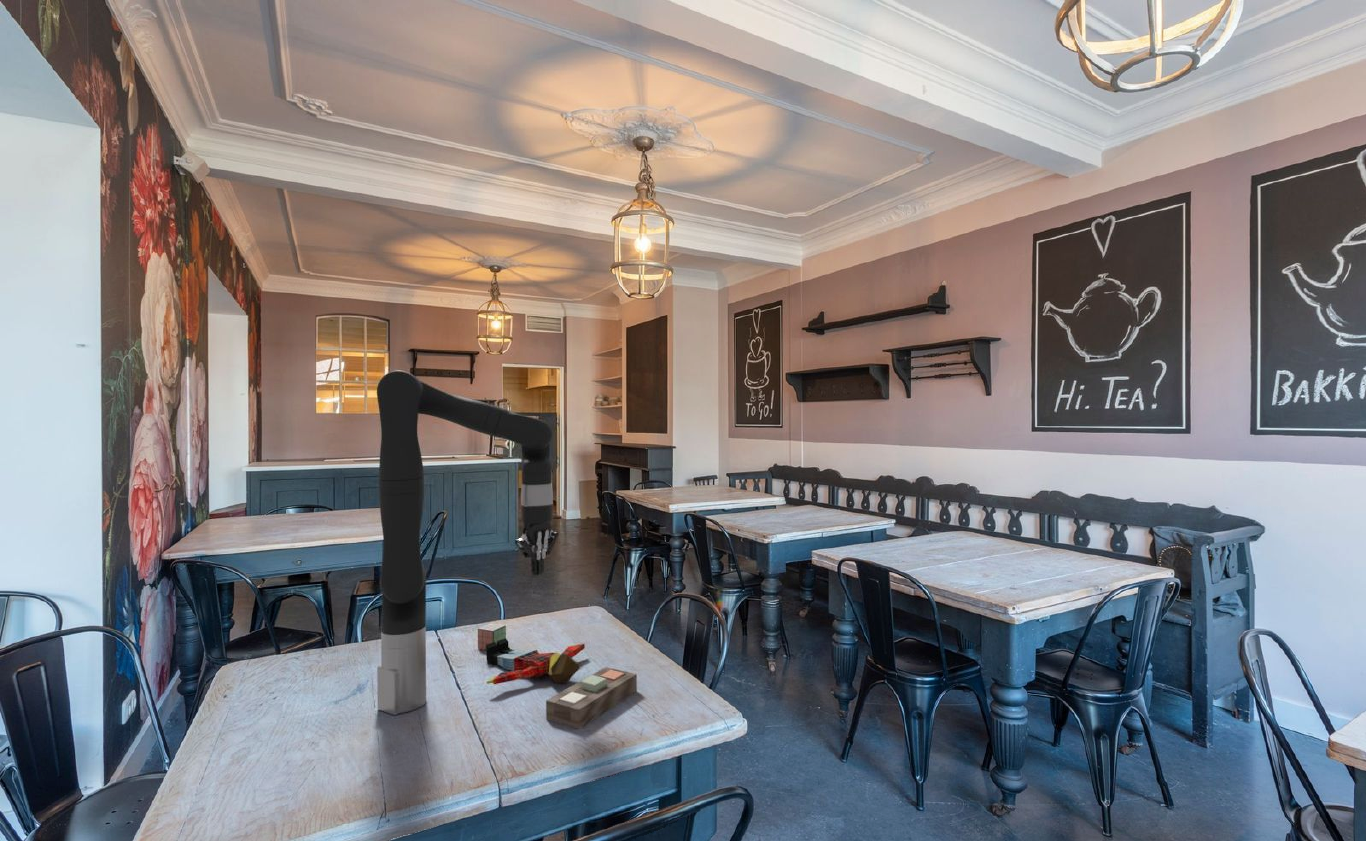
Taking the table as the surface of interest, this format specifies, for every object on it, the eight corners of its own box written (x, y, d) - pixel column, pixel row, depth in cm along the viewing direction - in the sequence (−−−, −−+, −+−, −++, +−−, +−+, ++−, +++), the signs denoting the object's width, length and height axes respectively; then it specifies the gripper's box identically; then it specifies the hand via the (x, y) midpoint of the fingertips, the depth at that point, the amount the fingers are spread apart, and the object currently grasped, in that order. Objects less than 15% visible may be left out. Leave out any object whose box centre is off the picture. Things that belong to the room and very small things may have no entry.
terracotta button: (614, 692, 144) (614, 679, 144) (600, 688, 146) (600, 675, 146) (624, 685, 148) (624, 673, 148) (610, 682, 150) (610, 669, 150)
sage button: (595, 698, 138) (594, 685, 138) (580, 694, 140) (580, 681, 140) (606, 691, 142) (606, 678, 142) (592, 688, 144) (592, 675, 144)
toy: (445, 690, 156) (522, 710, 138) (443, 658, 157) (520, 674, 139) (542, 653, 181) (618, 666, 163) (540, 626, 181) (616, 636, 163)
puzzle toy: (506, 645, 180) (506, 625, 180) (493, 651, 175) (493, 631, 175) (490, 642, 182) (490, 622, 182) (477, 649, 177) (477, 628, 177)
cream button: (574, 717, 132) (574, 702, 132) (559, 712, 134) (559, 698, 134) (586, 709, 136) (586, 695, 136) (572, 705, 138) (572, 691, 138)
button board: (579, 729, 130) (578, 709, 130) (546, 719, 134) (546, 700, 134) (636, 691, 148) (636, 674, 148) (606, 683, 152) (606, 666, 152)
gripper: (544, 498, 159) (545, 567, 158) (505, 504, 147) (505, 578, 147) (567, 500, 155) (568, 570, 155) (528, 506, 143) (529, 582, 143)
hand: (537, 574), depth 151 cm, fingers closed
